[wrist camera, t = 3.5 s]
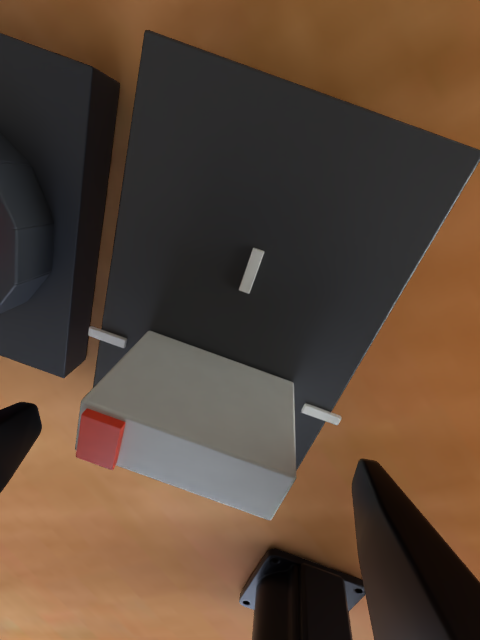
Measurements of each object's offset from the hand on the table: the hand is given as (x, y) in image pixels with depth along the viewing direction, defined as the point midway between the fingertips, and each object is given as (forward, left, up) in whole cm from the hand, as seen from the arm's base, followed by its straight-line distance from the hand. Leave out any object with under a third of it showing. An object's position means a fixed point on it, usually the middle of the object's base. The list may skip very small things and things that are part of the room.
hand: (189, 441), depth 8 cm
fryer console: (+2, 0, -6) cm, 7 cm away
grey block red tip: (0, 0, -3) cm, 3 cm away
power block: (+2, +11, -6) cm, 13 cm away
